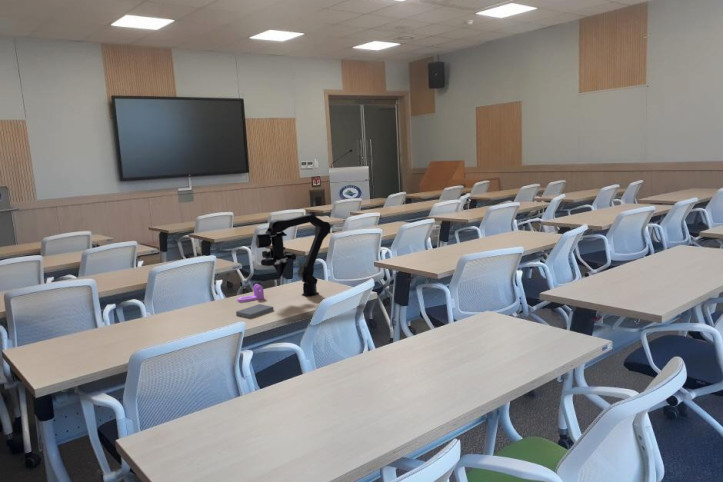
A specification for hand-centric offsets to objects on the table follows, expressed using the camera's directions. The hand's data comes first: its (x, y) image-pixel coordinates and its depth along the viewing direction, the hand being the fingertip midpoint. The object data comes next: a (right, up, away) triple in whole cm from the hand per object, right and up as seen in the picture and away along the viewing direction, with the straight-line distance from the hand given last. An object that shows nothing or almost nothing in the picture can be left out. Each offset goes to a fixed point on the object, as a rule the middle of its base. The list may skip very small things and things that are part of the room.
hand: (280, 276), depth 282 cm
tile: (-5, -14, -13) cm, 20 cm away
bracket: (-16, -13, +6) cm, 21 cm away
